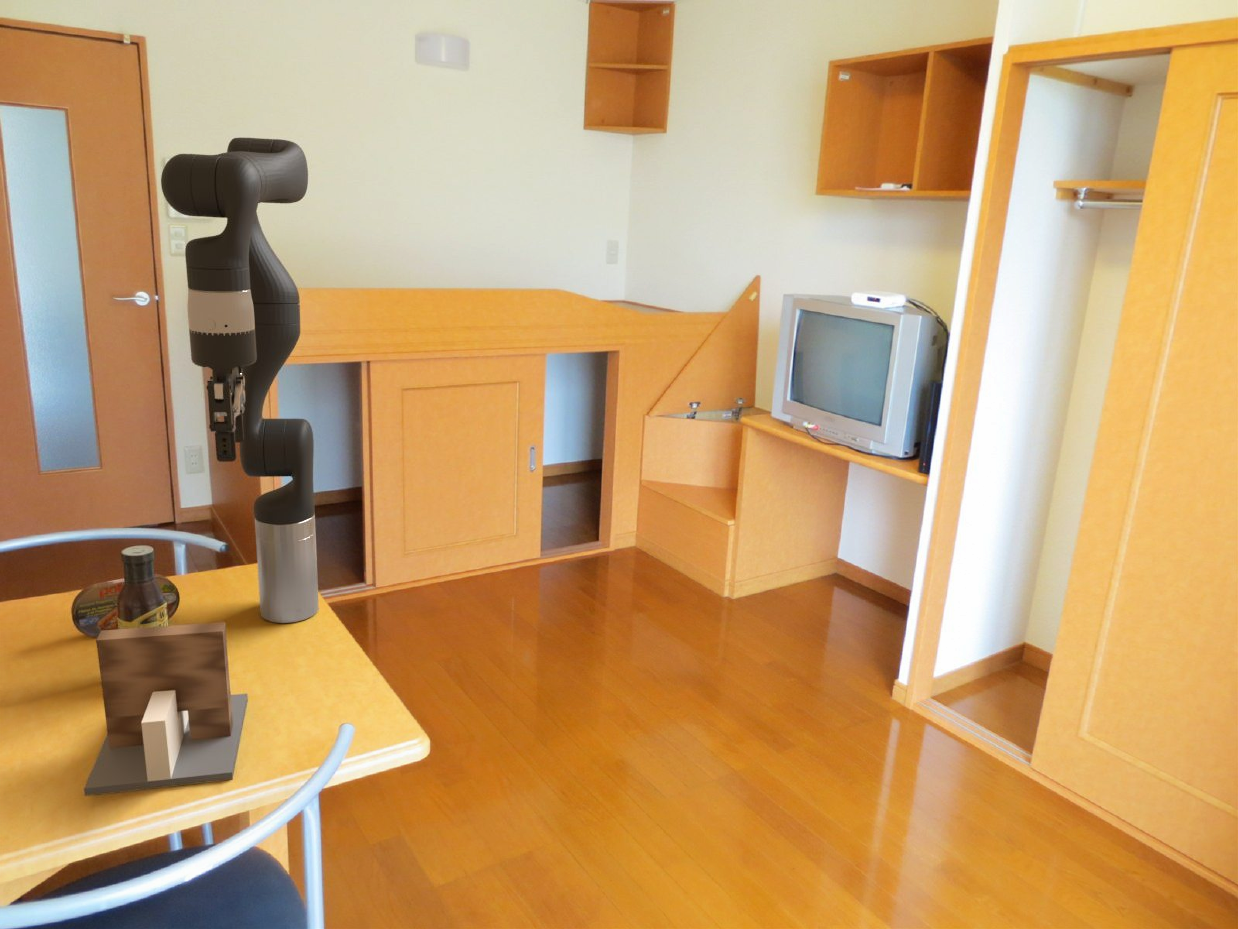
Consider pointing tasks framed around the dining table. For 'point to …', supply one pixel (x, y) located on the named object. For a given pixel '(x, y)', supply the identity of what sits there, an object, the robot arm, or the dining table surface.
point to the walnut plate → (165, 678)
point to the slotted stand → (167, 751)
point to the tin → (111, 605)
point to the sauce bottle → (140, 591)
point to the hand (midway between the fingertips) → (231, 450)
